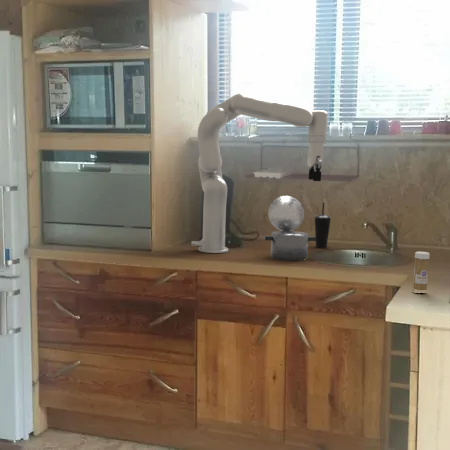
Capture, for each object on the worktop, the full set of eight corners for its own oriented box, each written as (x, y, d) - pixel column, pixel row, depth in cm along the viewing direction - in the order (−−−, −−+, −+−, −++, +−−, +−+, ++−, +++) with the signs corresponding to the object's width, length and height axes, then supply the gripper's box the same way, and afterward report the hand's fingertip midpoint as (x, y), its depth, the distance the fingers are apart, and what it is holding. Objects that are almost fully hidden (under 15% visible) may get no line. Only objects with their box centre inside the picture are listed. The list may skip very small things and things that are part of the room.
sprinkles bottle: (418, 294, 227) (421, 253, 225) (409, 291, 231) (412, 251, 229) (429, 293, 229) (432, 253, 227) (420, 290, 233) (423, 250, 231)
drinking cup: (329, 245, 321) (331, 202, 318) (330, 248, 313) (332, 204, 311) (312, 245, 322) (314, 201, 319) (312, 247, 314) (315, 203, 312)
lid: (268, 195, 296) (267, 197, 299) (269, 230, 293) (267, 231, 296) (303, 196, 297) (302, 197, 300) (304, 231, 294) (302, 232, 297)
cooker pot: (266, 260, 279) (267, 235, 278) (260, 253, 295) (261, 229, 294) (318, 261, 281) (319, 236, 280) (309, 254, 297) (310, 230, 296)
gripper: (304, 139, 306) (302, 178, 308) (312, 139, 288) (309, 181, 291) (321, 139, 306) (318, 179, 308) (330, 140, 289) (327, 182, 291)
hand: (314, 180), depth 300 cm, fingers open, 9 cm apart
